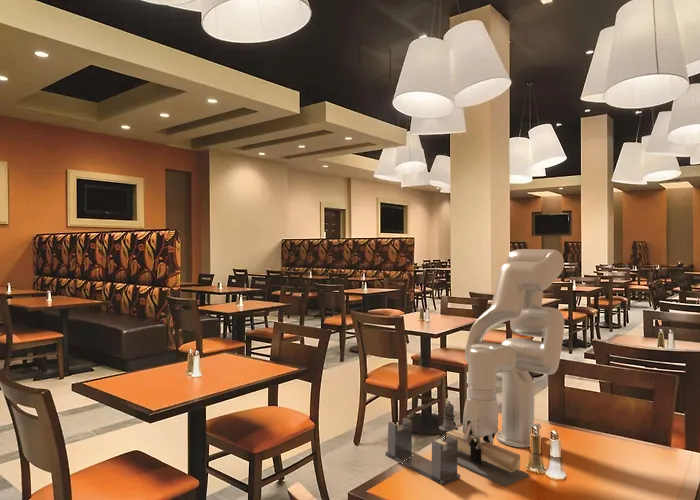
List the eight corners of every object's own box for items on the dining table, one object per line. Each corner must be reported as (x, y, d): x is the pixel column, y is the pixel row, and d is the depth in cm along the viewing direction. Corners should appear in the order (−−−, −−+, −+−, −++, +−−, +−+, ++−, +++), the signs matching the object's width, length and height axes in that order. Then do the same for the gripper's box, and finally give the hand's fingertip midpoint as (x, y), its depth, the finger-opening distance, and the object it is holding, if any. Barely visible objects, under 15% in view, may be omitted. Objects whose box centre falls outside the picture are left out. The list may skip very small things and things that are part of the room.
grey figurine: (458, 443, 153) (458, 404, 153) (438, 442, 154) (439, 402, 154) (458, 436, 159) (458, 398, 159) (439, 435, 160) (439, 397, 160)
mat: (460, 447, 150) (460, 445, 150) (528, 476, 132) (528, 473, 132) (437, 455, 144) (437, 453, 144) (505, 486, 126) (505, 484, 126)
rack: (401, 450, 147) (402, 416, 147) (460, 478, 130) (460, 440, 130) (385, 455, 143) (385, 421, 143) (443, 485, 126) (443, 446, 126)
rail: (454, 441, 148) (454, 429, 148) (519, 468, 130) (520, 454, 130) (446, 444, 145) (446, 432, 145) (511, 472, 128) (511, 458, 128)
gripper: (489, 385, 146) (488, 448, 146) (450, 394, 136) (449, 462, 136) (511, 391, 140) (510, 457, 140) (473, 401, 130) (471, 472, 130)
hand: (480, 459), depth 138 cm, fingers closed on rail, 3 cm apart
